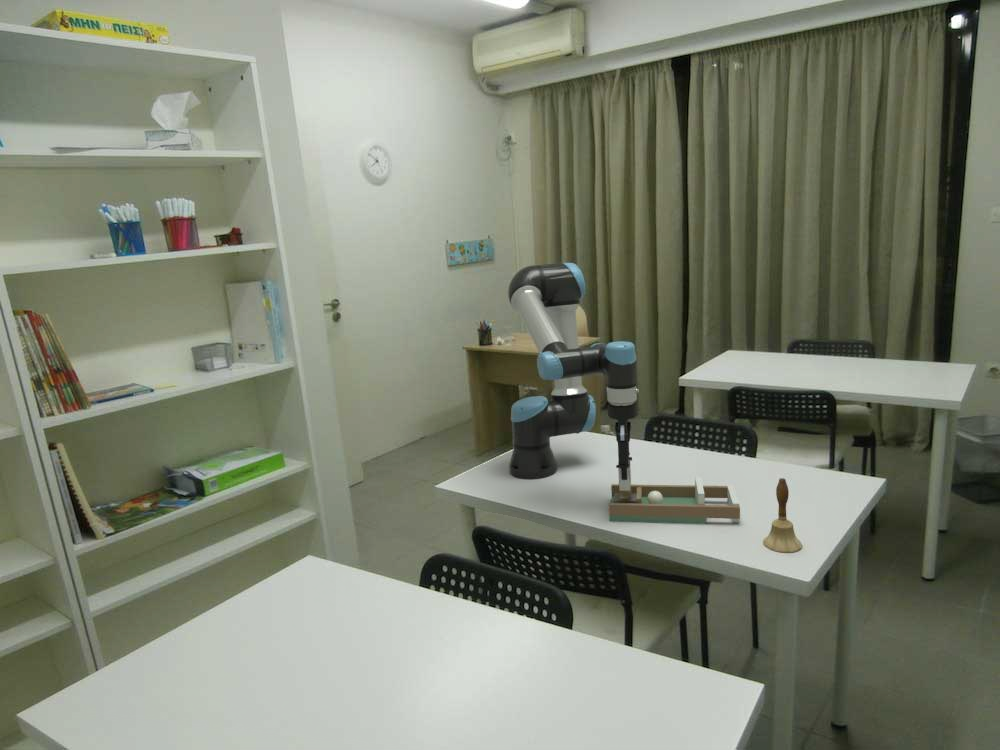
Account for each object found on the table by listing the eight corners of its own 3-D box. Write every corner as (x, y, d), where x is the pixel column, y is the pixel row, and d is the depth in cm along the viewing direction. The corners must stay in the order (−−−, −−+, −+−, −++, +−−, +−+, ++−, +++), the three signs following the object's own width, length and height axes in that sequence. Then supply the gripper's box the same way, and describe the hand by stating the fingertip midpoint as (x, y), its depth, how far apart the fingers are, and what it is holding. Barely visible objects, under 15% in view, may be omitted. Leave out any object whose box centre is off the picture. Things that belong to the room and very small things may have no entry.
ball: (647, 508, 172) (647, 494, 171) (647, 502, 175) (647, 488, 175) (663, 508, 171) (662, 494, 170) (662, 502, 174) (662, 488, 174)
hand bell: (760, 549, 149) (761, 483, 146) (765, 534, 156) (766, 471, 153) (800, 555, 145) (802, 488, 142) (803, 539, 152) (805, 474, 149)
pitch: (609, 521, 169) (608, 493, 168) (612, 499, 183) (611, 474, 181) (739, 524, 162) (739, 496, 161) (732, 501, 175) (732, 475, 174)
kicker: (613, 509, 172) (611, 466, 169) (614, 497, 179) (613, 456, 177) (641, 510, 170) (640, 466, 167) (641, 498, 178) (640, 456, 175)
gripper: (636, 410, 160) (639, 499, 165) (637, 394, 176) (639, 476, 181) (605, 410, 162) (609, 499, 167) (609, 394, 177) (612, 476, 182)
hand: (625, 487), depth 174 cm, fingers closed on kicker, 3 cm apart
